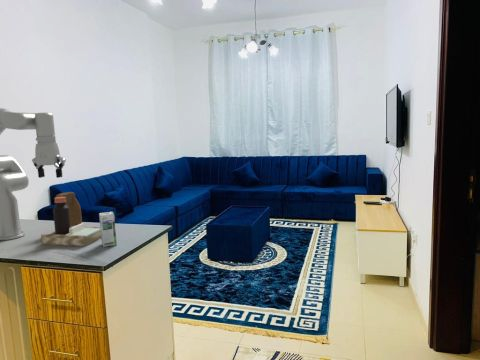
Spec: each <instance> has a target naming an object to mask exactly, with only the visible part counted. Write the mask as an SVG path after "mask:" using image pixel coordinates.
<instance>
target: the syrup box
mask: <svg viewBox="0 0 480 360" xmlns="http://www.w3.org/2000/svg"><path fill="white" fill-rule="evenodd" d="M98 217H99V227H100V229H101V238H100V239H101V244H102V246H103V247H104V248H105V247H110V246H116V245H117V243H118V242H117V233H116V232H117V231H116V222H115V219H116V218H115V213H114V212H113V211H109V212H108V211H107V212H100V213H98Z"/></svg>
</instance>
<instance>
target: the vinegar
mask: <svg viewBox="0 0 480 360" xmlns="http://www.w3.org/2000/svg"><path fill="white" fill-rule="evenodd" d="M54 204H55V206H54V207H53V208H52V211H53V212H52V213H53V224H54V232H55V235H66V234H68V233H69V228H71V225H70V213H69V207H68V206H67V205H66V197H56V196H55V197H54Z"/></svg>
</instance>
